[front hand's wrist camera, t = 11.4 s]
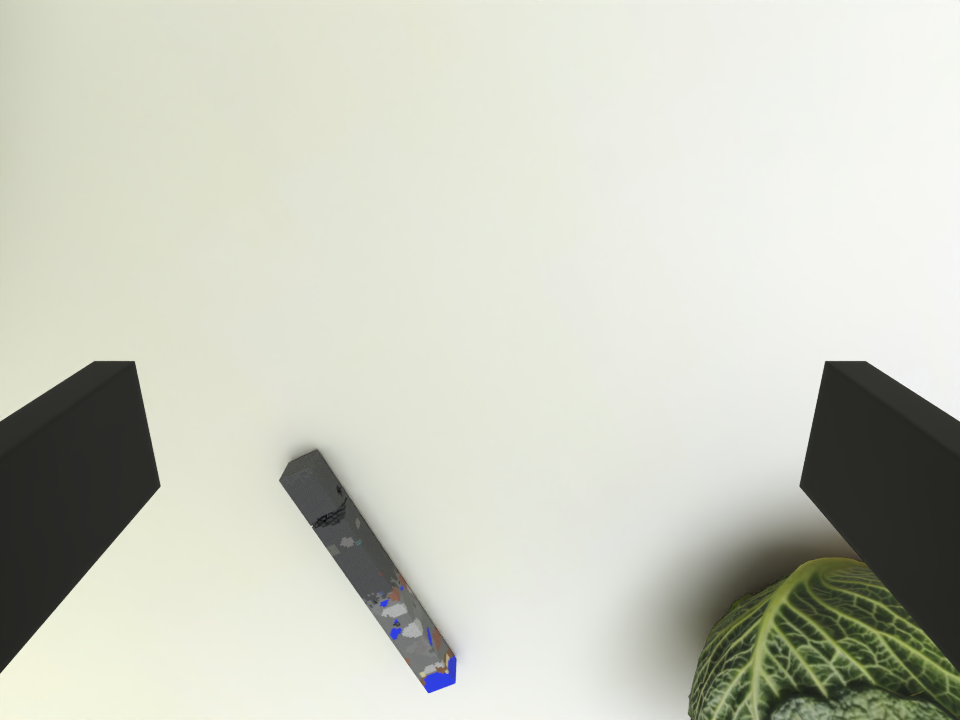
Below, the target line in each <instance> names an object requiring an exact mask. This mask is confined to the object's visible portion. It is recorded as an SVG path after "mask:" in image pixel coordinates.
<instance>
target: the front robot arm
mask: <svg viewBox="0 0 960 720" xmlns="http://www.w3.org/2000/svg"><path fill="white" fill-rule="evenodd" d="M159 488H160V481H159V476H158V471H157V466H156V462H155V457H154V452H153V447H152V442H151V438H150V433H149V428H148V423H147V418H146V413H145V409H144V404H143V399H142V394H141V389H140V384H139V380H138V375H137V370H136V365H135V361H94V362H92V363H91V364H89V365H88V366H86V367H85V368H83V369H81V370H80V371H78V372H77V373H75V374H74V375H72V376H71V377H69V378H67V379H66V380H64V381H63V382H61V383H60V384H58V385H56V386H55V387H53V388H52V389H50V390H49V391H47V392H46V393H44V394H42V395H41V396H39V397H38V398H36V399H35V400H33V401H32V402H30V403H28V404H27V405H25V406H24V407H22V408H21V409H19V410H18V411H16V412H14V413H13V414H11V415H10V416H8V417H7V418H5V419H4V420H2V421H0V673H1V672H2V671H3V670H4V669H5V667H6V666H7V665H8V664H9V663H10V662H11V660H12V659H13V658H14V657H15V656H16V655H17V653H18V652H19V651H20V650H21V649H22V648H23V646H24V645H25V644H26V643H27V642H28V641H29V639H30V638H31V637H32V636H33V635H34V634H35V632H36V631H37V630H38V629H39V628H40V627H41V625H42V624H43V623H44V622H45V621H46V620H47V618H48V617H49V616H50V615H51V614H52V612H53V611H54V610H55V609H56V608H57V607H58V605H59V604H60V603H61V602H62V601H63V600H64V598H65V597H66V596H67V595H68V594H69V593H70V591H71V590H72V589H73V588H74V587H75V586H76V584H77V583H78V582H79V581H80V580H81V579H82V577H83V576H84V575H85V574H86V573H87V572H88V570H89V569H90V568H91V567H92V566H93V565H94V563H95V562H96V561H97V560H98V559H99V558H100V556H101V555H102V554H103V553H104V552H105V551H106V549H107V548H108V547H109V546H110V545H111V544H112V542H113V541H114V540H115V539H116V538H117V537H118V535H119V534H120V533H121V532H122V531H123V530H124V528H125V527H126V526H127V525H128V524H129V523H130V521H131V520H132V519H133V518H134V517H135V516H136V514H137V513H138V512H139V511H140V510H141V509H142V507H143V506H144V505H145V504H146V503H147V502H148V500H149V499H150V498H151V497H152V496H153V495H154V493H155V492H156V491H157V490H158V489H159ZM800 488H801V489H802V490H803V491H804V492H805V493H806V495H807V496H808V497H809V498H810V499H811V500H812V502H813V503H814V504H815V505H816V506H817V507H818V509H819V510H820V511H821V512H822V513H823V514H824V516H825V517H826V518H827V519H828V520H829V521H830V523H831V524H832V525H833V526H834V527H835V528H836V530H837V531H838V532H839V533H840V534H841V535H842V537H843V538H844V539H845V540H846V541H847V542H848V544H849V545H850V546H851V547H852V548H853V549H854V551H855V552H856V553H857V554H858V555H859V556H860V558H861V559H862V560H863V561H864V562H865V563H866V565H867V566H868V567H869V568H870V569H871V570H872V572H873V573H874V574H875V575H876V576H877V577H878V579H879V580H880V581H881V582H882V583H883V584H884V586H885V587H886V588H887V589H888V590H889V591H890V593H891V594H892V595H893V596H894V597H895V598H896V600H897V601H898V602H899V603H900V604H901V605H902V607H903V608H904V609H905V610H906V611H907V613H908V614H909V615H910V616H911V617H912V618H913V620H914V621H915V622H916V623H917V624H918V625H919V627H920V628H921V629H922V630H923V631H924V632H925V634H926V635H927V636H928V637H929V638H930V639H931V641H932V642H933V643H934V644H935V645H936V646H937V648H938V649H939V650H940V651H941V652H942V653H943V655H944V656H945V657H946V658H947V659H948V660H949V662H950V663H951V664H952V665H953V666H954V667H955V669H956V670H957V671H958V672H959V673H960V421H958V420H956V419H955V418H953V417H952V416H950V415H949V414H947V413H946V412H944V411H942V410H941V409H939V408H938V407H936V406H935V405H933V404H932V403H930V402H928V401H927V400H925V399H924V398H922V397H921V396H919V395H918V394H916V393H914V392H913V391H911V390H910V389H908V388H907V387H905V386H904V385H902V384H900V383H899V382H897V381H896V380H894V379H893V378H891V377H889V376H888V375H886V374H885V373H883V372H882V371H880V370H879V369H877V368H875V367H874V366H872V365H871V364H869V363H868V362H866V361H825V365H824V370H823V375H822V380H821V384H820V389H819V394H818V399H817V404H816V409H815V413H814V418H813V423H812V428H811V433H810V438H809V442H808V447H807V452H806V457H805V462H804V466H803V471H802V476H801V481H800Z"/></svg>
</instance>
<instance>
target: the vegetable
mask: <svg viewBox="0 0 960 720" xmlns="http://www.w3.org/2000/svg"><path fill="white" fill-rule="evenodd" d="M688 697H689V710H688V715H689V716H690V717H691V720H960V673H959V672H958V671H957V670H956V669H955V667H954V666H953V665H952V664H951V663H950V662H949V660H948V659H947V658H946V657H945V656H944V655H943V653H942V652H941V651H940V650H939V649H938V648H937V646H936V645H935V644H934V643H933V642H932V641H931V639H930V638H929V637H928V636H927V635H926V634H925V632H924V631H923V630H922V629H921V628H920V627H919V625H918V624H917V623H916V622H915V621H914V620H913V618H912V617H911V616H910V615H909V614H908V613H907V611H906V610H905V609H904V608H903V607H902V605H901V604H900V603H899V602H898V601H897V600H896V598H895V597H894V596H893V595H892V594H891V593H890V591H889V590H888V589H887V588H886V587H885V586H884V584H883V583H882V582H881V581H880V580H879V579H878V577H877V576H876V575H875V574H874V573H873V572H872V570H871V569H870V568H869V567H868V566H867V565H866V563H865V562H859V561H857V560H854V559H850V558H845V557H827V558H819V559H814V560H810V561H807V562H805V563H804V564H802V565H800V566H799V567H798V568H797V569H796V570H795V571H794V572H793V573H790V574H788V575H786V576H783V577H781V578H780V579H779V581H777V582H775V583H774V584H772V585H770V586H769V587H768V588H766V589H765V590H763V591H762V592H760V593H758V594H756V595H754V594H746V595H745V596H743V597H742V598H740V599H739V600H737V601H736V602H734V603H733V604H732V606H731V609H730V611H729V612H728V613H727V614H726V615H725V616H724V617H723V618H722V619H721V620H720V621H718V622H717V623H716V624H715V626H714V627H713V629H712V630H711V632H710V634H709V636H708V638H707V641H706V644H705V647H704V649H703V651H702V653H701V655H700V657H699V660H698V665H697V670H696V673H695V676H694V680H693V684H692V689H691V694H690V695H689V696H688Z"/></svg>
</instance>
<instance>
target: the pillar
mask: <svg viewBox="0 0 960 720" xmlns="http://www.w3.org/2000/svg"><path fill="white" fill-rule="evenodd" d="M279 481H280V483H281V484H282V486H283V487H284V488H285V490H286V491H287V493H288V494H289V496H290V497H291V498H292V500H293V501H294V503H295V504H296V505H297V507H298V508H299V510H300V511H301V513H302V514H303V515H304V517H305V518H306V520H307V521H308V523H309V524H310V525H311V526H312V525H313V527H312V528H313V530H314V531H315V533H316V534H317V535H318V537H319V538H320V540H321V541H322V542H323V544H324V545H325V547H326V548H327V550H328V551H329V552H330V554H331V555H332V557H333V558H334V560H335V561H336V562H337V564H338V565H339V567H340V568H341V570H342V571H343V572H344V574H345V575H346V577H347V578H348V580H349V581H350V582H351V584H352V585H353V587H354V588H355V589H356V591H357V592H358V594H359V595H360V597H361V598H362V599H363V601H364V602H365V604H366V605H367V607H368V608H369V609H370V611H371V612H372V614H373V615H374V617H375V618H376V619H377V621H378V622H379V624H380V625H381V627H382V628H383V629H384V631H385V632H386V634H387V635H388V636H389V638H390V639H391V641H392V642H393V644H394V645H395V646H396V648H397V649H398V651H399V652H400V654H401V655H402V656H403V658H404V659H405V661H406V662H407V664H408V665H409V666H410V668H411V669H412V671H413V672H414V673H415V675H416V676H417V678H418V679H419V681H420V682H421V683H422V685H423V686H424V688H425V689H426V691H427V692H428V693H431V692H434V691H436V690H439V689H442V688H444V687H447V686H450V685H452V684H455V682H456V658H455V656H454V655H453V653H452V652H451V650H450V649H449V647H448V646H447V644H446V643H445V641H444V640H443V638H442V636H441V635H440V633H439V632H438V630H437V629H436V627H435V626H434V624H433V623H432V621H431V620H430V618H429V617H428V615H427V614H426V612H425V611H424V609H423V608H422V606H421V605H420V603H419V602H418V600H417V599H416V597H415V596H414V594H413V593H412V591H411V590H410V588H409V587H408V585H407V584H406V582H405V581H404V579H403V578H402V576H401V575H400V573H399V572H398V570H397V569H396V567H395V566H394V564H393V563H392V561H391V560H390V558H389V557H388V555H387V554H386V552H385V551H384V549H383V548H382V546H381V545H380V543H379V542H378V540H377V539H376V537H375V536H374V534H373V533H372V531H371V530H370V528H369V527H368V525H367V524H366V522H365V521H364V519H363V518H362V516H361V515H360V513H359V512H358V510H357V509H356V507H355V506H354V504H353V503H352V501H351V500H350V498H349V496H348V495H347V493H346V492H345V490H344V489H343V487H342V486H341V484H340V483H339V481H338V480H337V478H336V477H335V475H334V474H333V472H332V471H331V469H330V468H329V466H328V465H327V463H326V462H325V460H324V459H323V457H322V456H321V454H320V453H319V451H318V450H316V451H313V452H311V453H309V454H307V455H305V456H302V457H300V458H298V459H296V460H294V461H292V462H289V463H288V465H287V467H286V469H285V471H284V472H283V474H282V476H281V478H280V480H279ZM327 514H328V516H327Z"/></svg>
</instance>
